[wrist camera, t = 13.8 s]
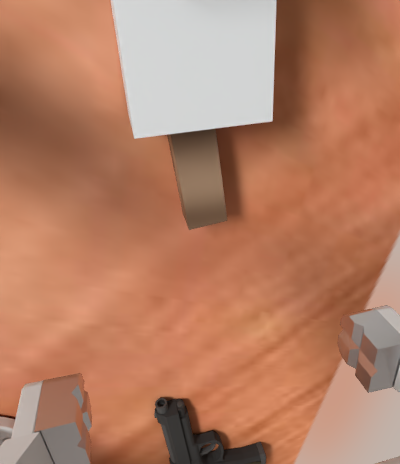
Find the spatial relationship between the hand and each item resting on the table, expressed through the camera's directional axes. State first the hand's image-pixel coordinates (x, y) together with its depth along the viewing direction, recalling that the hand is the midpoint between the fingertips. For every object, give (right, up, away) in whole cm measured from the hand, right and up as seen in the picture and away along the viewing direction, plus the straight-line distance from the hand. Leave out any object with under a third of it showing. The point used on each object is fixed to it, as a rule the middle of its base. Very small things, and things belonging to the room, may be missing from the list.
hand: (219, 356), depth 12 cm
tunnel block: (-2, +17, +13) cm, 21 cm away
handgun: (+1, -21, +36) cm, 41 cm away
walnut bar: (-2, +12, +16) cm, 20 cm away
